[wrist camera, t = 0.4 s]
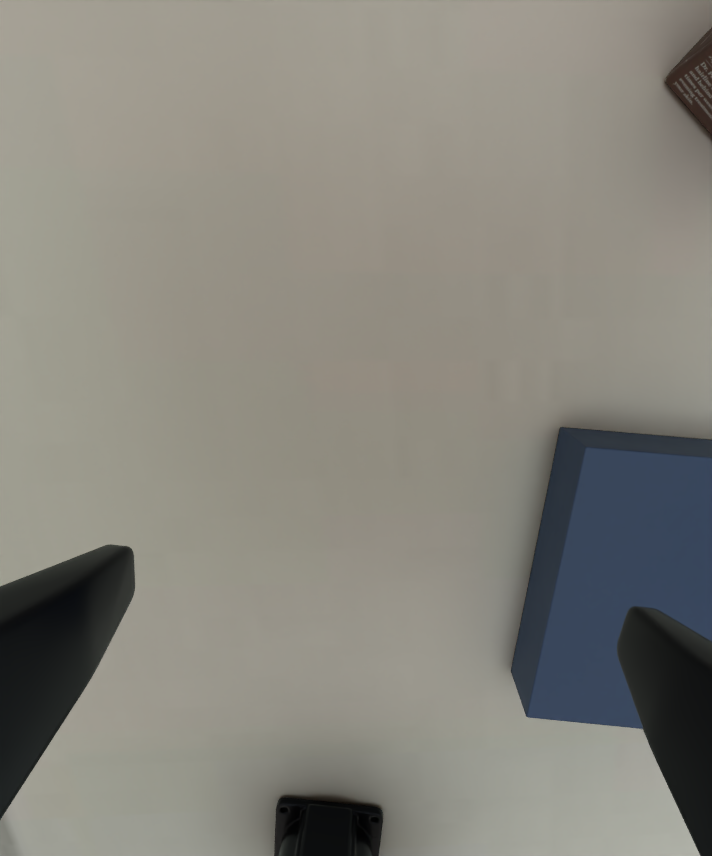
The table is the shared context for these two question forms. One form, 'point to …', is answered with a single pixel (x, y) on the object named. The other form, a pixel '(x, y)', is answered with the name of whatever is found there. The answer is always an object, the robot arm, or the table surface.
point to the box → (695, 80)
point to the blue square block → (612, 566)
